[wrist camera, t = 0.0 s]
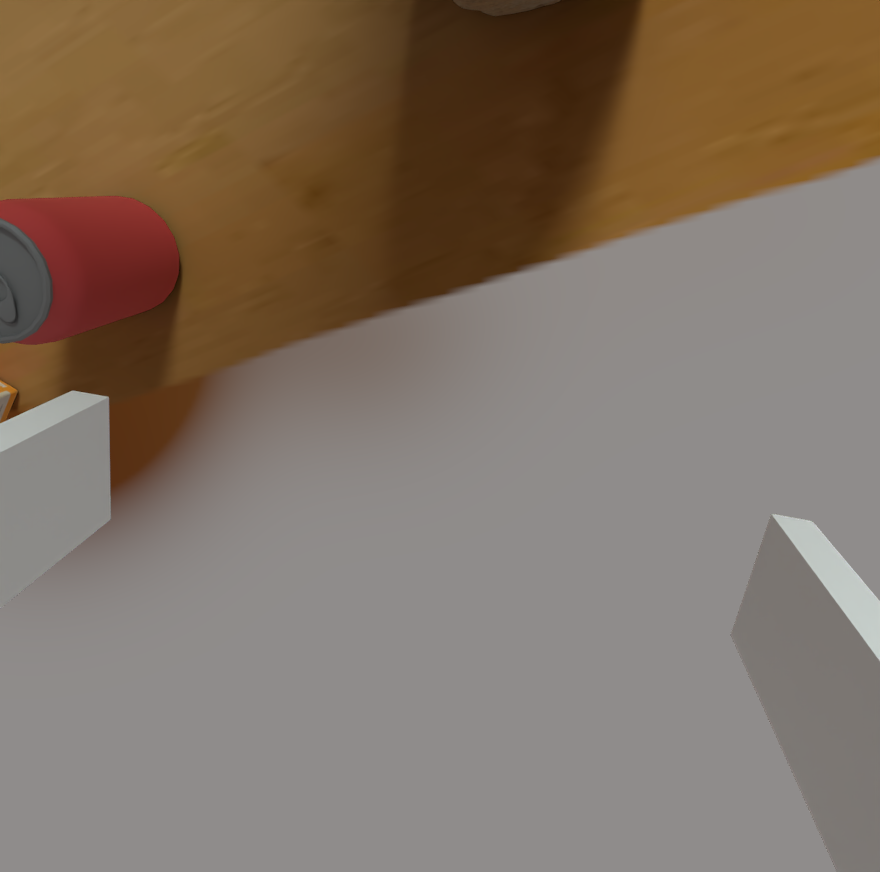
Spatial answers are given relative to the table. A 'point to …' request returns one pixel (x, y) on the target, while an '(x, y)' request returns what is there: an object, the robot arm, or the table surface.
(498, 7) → the block
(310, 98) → the table surface
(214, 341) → the table surface
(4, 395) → the supplement box
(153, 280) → the beer can
